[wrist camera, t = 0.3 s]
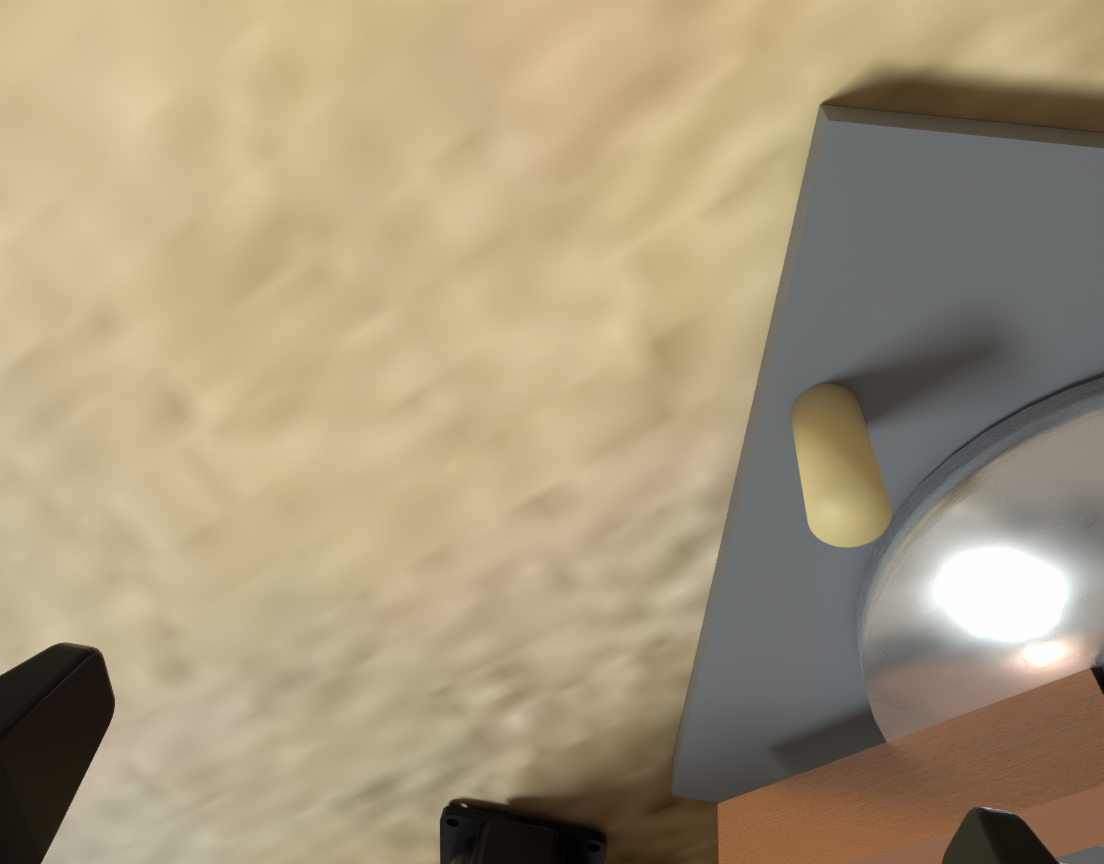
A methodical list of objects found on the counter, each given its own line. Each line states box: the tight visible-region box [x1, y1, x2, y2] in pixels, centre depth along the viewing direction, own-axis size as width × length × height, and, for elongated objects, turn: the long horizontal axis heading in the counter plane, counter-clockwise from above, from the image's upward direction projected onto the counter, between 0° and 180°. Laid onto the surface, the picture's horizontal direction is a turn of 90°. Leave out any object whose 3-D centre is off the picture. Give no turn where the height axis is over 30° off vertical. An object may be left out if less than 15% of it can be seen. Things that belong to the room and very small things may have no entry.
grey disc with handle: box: [718, 377, 1104, 864], centre depth 21 cm, size 20×15×5 cm
